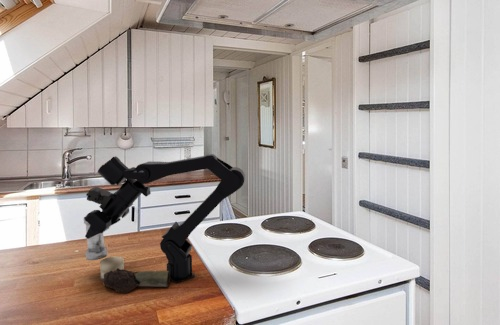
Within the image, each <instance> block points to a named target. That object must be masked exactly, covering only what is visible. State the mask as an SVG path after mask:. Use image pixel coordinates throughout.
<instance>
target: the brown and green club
mask: <svg viewBox="0 0 500 325" xmlns="http://www.w3.org/2000/svg"><path fill="white" fill-rule="evenodd" d="M169 274H170V271H167V270H145V271H144V270H143V271H141V270H139V271H134V272H133V271H130V270H127V269H124V270H123V269H122V270H120V269H118V268H117V270H115V271H113V272H112V271H110V272H107V273H105V274H104V279H103V281H102V282H103V286H104V287H107V288H110V289H112V290H113V291H115V292H116V293H119V294H122V293H123V294H127V293H129V292H131V291H133V290H134V289H136V288H137V287H153V288H154V287H156V288H157V287H159V288H160V287H162V288H164V287H169V285H170V280H171V279H170V275H169Z"/></svg>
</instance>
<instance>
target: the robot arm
mask: <svg viewBox="0 0 500 325" xmlns="http://www.w3.org/2000/svg"><path fill="white" fill-rule="evenodd" d="M202 170H209V171H210V172H211V173H212V174H214V175H215V176H216V177H217V178H218V179H219V180H220V182H219V183H218V184H217V186H216V188H215V189H214V190H213V191H212V192H211V193H210V194H209V195H208V196H207V197H206V198H205V199H204V200H203V201H202V202H201V203H200V204H199V205H198V207H196V209H194V211H193V212H192V213H191V214H190V215H189V216H188V217H187V218H186V219H185V220H184V221H183V222H181V223H178V222H177V221H175V222H174V223H173V224H172V225H171V227H170V228H169V229H167V230H166V231H165V232H164V233H163V234H162V236H161V238H162V239H161V240H160V243H159V244H160V246H159V247H160V249H161V251H162V253H163V254H164V255H165V256H166V258H167V263H166V271H170V274H169V275H170V280H171V281H172V282H174V283H175V284H178V283H181V282H184V281H187V280H190V279H192V278H195V277H196V274H195V273H193V259H192V258H193V255H192V254H190V252H191V250H192V247H193V244H192V243H191V242H189V241H188V238H189V236H190V234H191V233H192V232H193V231H194V230H195V229H196V228H197V227H198V226H199V225H200V224H201V223H202V222H203V221H204V220H205V219H206V218H207V217H208V216H209V215H210V214H211V213H212V212H213V211H214V209H216V207H217V206H218V205H220V204H221V202H223V200H225V199H226V198H228V197H230V196H232V195H233V194H234V193H235V192H237V191H239V189H241V188H242V186H243V185H244V184H245V178H246V174H245V172H244V170H243V169H241V168H240V167H237V166H236V167H233V166H232V165H231V164H229V163H227V162H226V161H224V160H222V159H220V158H219V157H218V156H216V155H215V154H214V153H208V154H206V155H201V156H196V157H189V158H185V159H177V160H173V161H146V162H143V163H139V164H138V165H137V166H136V167H135V166H133V167H130V168H129V167H128V166H127V165H126V164H124V163H123V162H122V161H121V159H120V158H119V157H118V156H113V157H111V158H110V159H109V160H108V161H106V162H105V163H103V164H102V165H101V166H100V167H99V168H98V170H97V173H98V174H99V176H101V177H102V178H103V179H104V180H105V181H106V182H107V183H108V184H110V186H114V187H115V185H116V186H117V187H118V189H117V190H116V191H115V192H114V193H112V192H110V191H109V190H107V189H104V188H101V187H98V186H94V187H92V188H90V189H89V191H88V192H87V193H86V194H85V195H86V200H87V201H89V202H93V203H95V204H98V205H99V206H98V207H99V209H94V210H92V211H90V212H89V213H87V214H86V215H85V216H84V217H85V218H84V217H83V220H84V219H85V221H87V222H88V223H89V224H90V227H89V229H88V231H87V233H86V234H85V238H86V240H87V239H89V238H91V237H93V236H95V235H97V234H99V233H103V234H104V233H105V232H106V231H108V230H109V229H110V228H111V226H113V225H115V224H117V223H119V222H120V221H121V218H122V219H123V218H126V216H127V215H128V214H130V207H132V206H133V205H134V203H135V201H136V200H137V199H138V198H139V197H140V196H141V194H142V195H143V196H144V197H148V196H150V195H151V193H152V192H151V186H150V185H146V184H149V183H152V182H155V181H157V180H160V179H162V178H163V179H164V178H166V177H167V176H168V177H169V176H174V175H178V174H179V175H180V174H184V173H189V172H190V173H191V172H196V171H202ZM119 186H120V187H119ZM100 209H101V210H102V211H101V210H100Z"/></svg>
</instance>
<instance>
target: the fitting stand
mask: <svg viewBox="0 0 500 325" xmlns="http://www.w3.org/2000/svg"><path fill="white" fill-rule="evenodd" d="M124 259H125V258H123V256H122V257H121V256H109V257H104V259H103V258H102V259H100V265H99V267H100V268H99V269H100V276H99V277H100V278H99V279H100V281H102V282H103V279H104V274H105V273H107V272H110V271H112V272H113V271H115V270H117V268H118V269H120V270H122V269H123V270H125V264H124V263H125V262H124V261H125V260H124Z"/></svg>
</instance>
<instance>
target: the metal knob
mask: <svg viewBox="0 0 500 325" xmlns="http://www.w3.org/2000/svg"><path fill="white" fill-rule="evenodd" d="M85 217H86V216H84V217H83V224H84V225H85V232H86V233H87V231H88V229H89V227H90V224H89V223H88V222H87V221H85V219H84V218H85ZM86 242H87V249H86V250H84V252H85V258H86V260H87V261H97V260H103V258H104V259H105V258H107V256H108V247H107V246H105V240H104V232H103V233H99V234H97V235H95V236H93V237H91V238H89V239H87V238H86Z"/></svg>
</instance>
